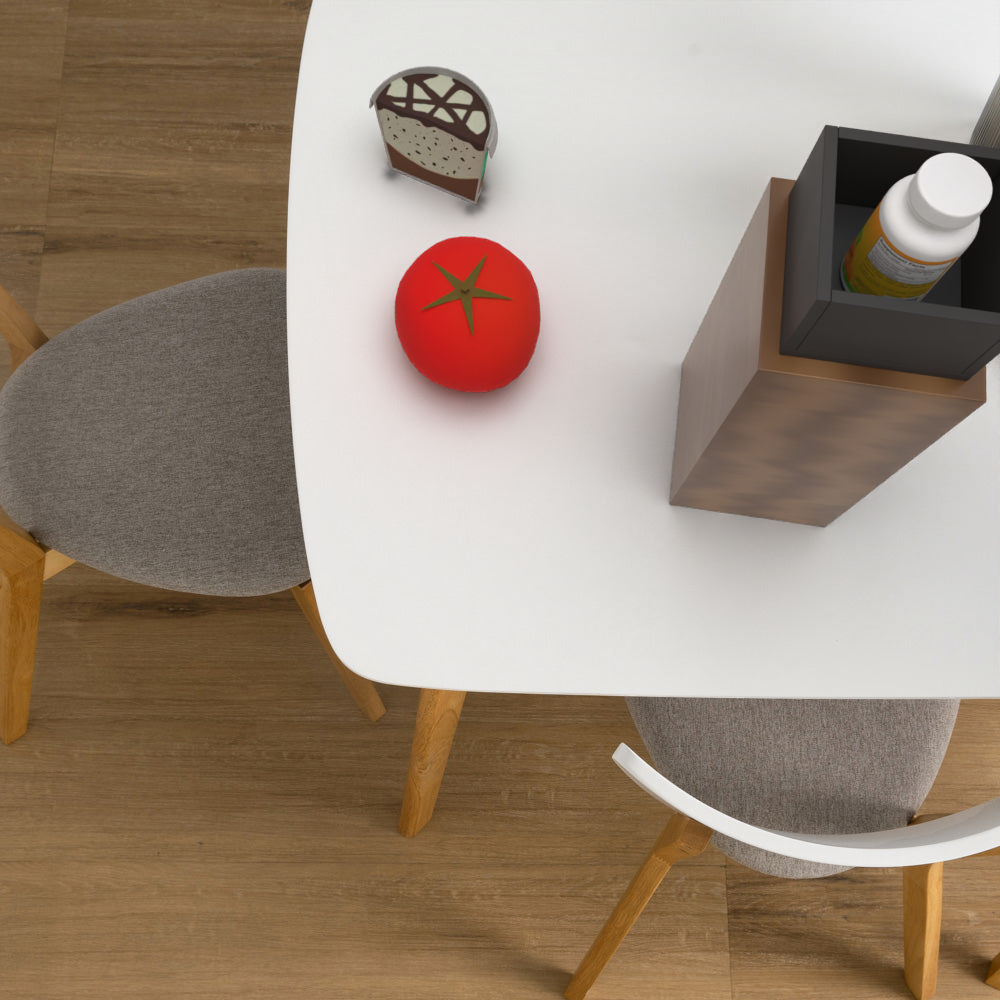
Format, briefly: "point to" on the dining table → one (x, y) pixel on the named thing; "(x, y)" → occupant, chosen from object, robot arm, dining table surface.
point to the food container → (437, 128)
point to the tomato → (468, 314)
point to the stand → (792, 402)
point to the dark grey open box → (875, 319)
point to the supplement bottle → (918, 229)
